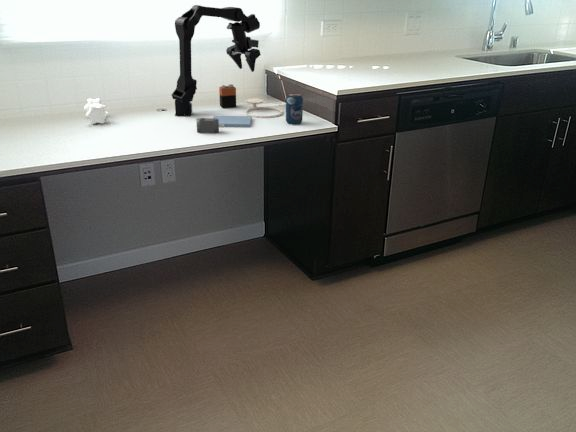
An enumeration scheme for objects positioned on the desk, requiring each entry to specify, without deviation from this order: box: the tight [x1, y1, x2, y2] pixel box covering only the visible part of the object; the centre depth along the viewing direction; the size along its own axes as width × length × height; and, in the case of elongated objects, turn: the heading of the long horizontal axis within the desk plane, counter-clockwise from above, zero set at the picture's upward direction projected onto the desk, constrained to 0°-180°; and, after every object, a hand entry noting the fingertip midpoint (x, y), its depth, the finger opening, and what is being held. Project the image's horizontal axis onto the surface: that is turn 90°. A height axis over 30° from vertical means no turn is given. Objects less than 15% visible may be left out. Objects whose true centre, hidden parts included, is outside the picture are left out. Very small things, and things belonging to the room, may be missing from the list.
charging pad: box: [212, 115, 253, 128], centre depth 227 cm, size 16×13×1 cm
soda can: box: [285, 92, 304, 126], centre depth 226 cm, size 7×7×12 cm
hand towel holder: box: [245, 97, 284, 119], centre depth 243 cm, size 17×4×21 cm
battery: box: [218, 84, 237, 109], centre depth 249 cm, size 4×7×10 cm, turn 112°
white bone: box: [83, 97, 109, 125], centre depth 226 cm, size 15×9×8 cm, turn 22°
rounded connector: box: [195, 117, 225, 134], centre depth 213 cm, size 11×4×5 cm, turn 90°
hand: (247, 70), depth 252 cm, fingers open, 9 cm apart
